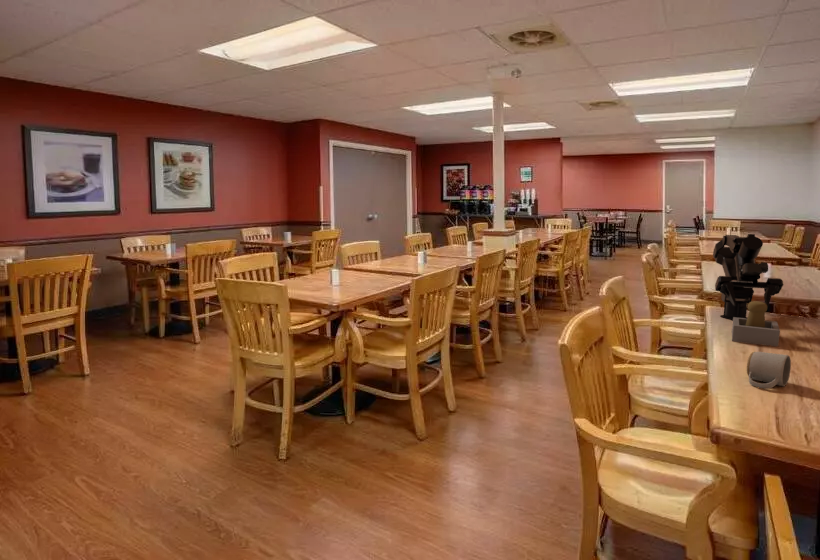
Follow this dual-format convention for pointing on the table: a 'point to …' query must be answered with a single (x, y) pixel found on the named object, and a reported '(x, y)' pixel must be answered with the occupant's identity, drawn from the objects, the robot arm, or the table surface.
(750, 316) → the cork
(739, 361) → the table surface
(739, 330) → the holder block
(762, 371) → the ceramic mug
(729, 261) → the robot arm
